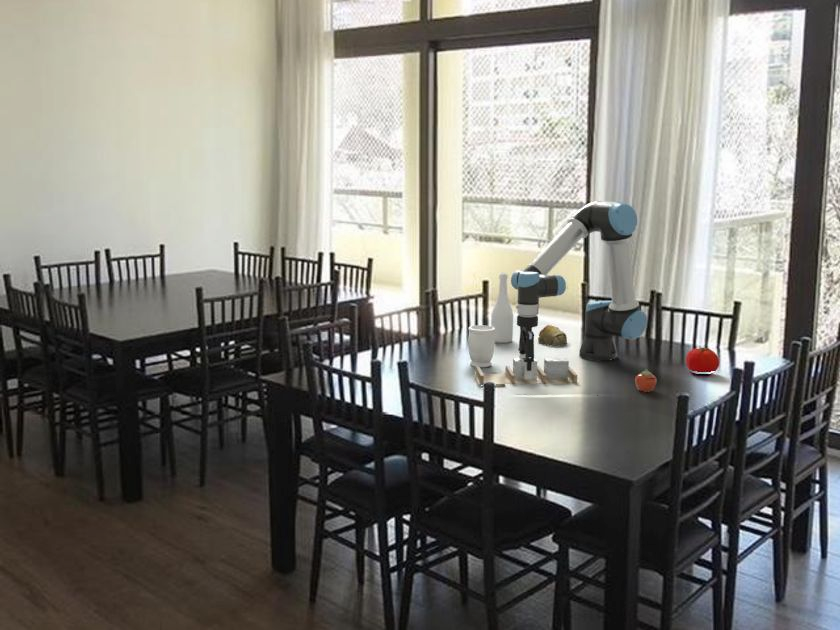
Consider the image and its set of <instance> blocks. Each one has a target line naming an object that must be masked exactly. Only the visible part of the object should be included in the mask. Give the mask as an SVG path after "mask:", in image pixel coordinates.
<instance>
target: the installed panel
mask: <svg viewBox="0 0 840 630" xmlns="http://www.w3.org/2000/svg"><path fill="white" fill-rule="evenodd" d="M543 360H544V361H543V362H544V363H543V372H544V373H545V374H546V380H568V368H569V367H570V366H569V365H570V364H569V362H570V361H569V360H568V359H567V357H560V358H559V357H557V358H556V357H553V358H552V357H550V358H549V357H548V358H544V359H543Z"/></svg>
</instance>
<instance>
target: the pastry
mask: <svg viewBox="0 0 840 630" xmlns="http://www.w3.org/2000/svg"><path fill="white" fill-rule="evenodd" d="M538 336H539V337H537V341H538V343H539V344H541V345H547V346H550V345H552V347H554V346H556V347H560V346H564V345H567V343H568V337H567V334H566V332H564V331H562V330H560V328H559V327H557V326H554V325H551V324H547V325H545V326H544V327H543V328H542V329H541V330H540V331H539V333H538Z"/></svg>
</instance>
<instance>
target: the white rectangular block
mask: <svg viewBox="0 0 840 630" xmlns="http://www.w3.org/2000/svg"><path fill="white" fill-rule="evenodd" d="M524 360H526V358H519V357H518V358H517V357H513V358H512V371H513V373H514V374H515V380H537V366H538V360H537V358H536V357H534V361H533V369H532V379H524V372H525V362H524Z"/></svg>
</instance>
